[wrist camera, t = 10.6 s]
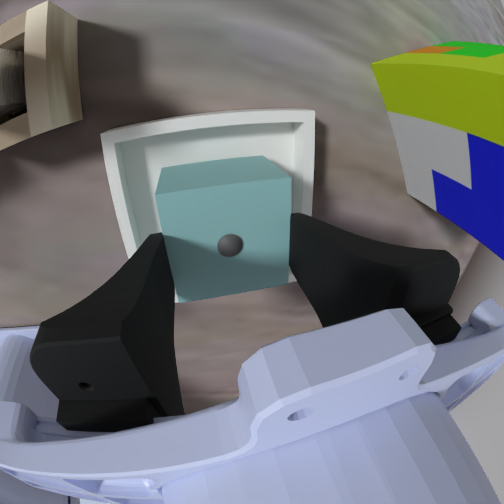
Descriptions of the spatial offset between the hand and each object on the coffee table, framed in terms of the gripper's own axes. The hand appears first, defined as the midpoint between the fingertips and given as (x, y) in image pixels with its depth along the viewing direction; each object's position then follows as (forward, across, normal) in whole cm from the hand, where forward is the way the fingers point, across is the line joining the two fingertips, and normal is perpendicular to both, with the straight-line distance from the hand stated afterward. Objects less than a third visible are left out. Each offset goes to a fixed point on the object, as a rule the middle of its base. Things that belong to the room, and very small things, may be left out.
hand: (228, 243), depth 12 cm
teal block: (+3, 0, 0) cm, 3 cm away
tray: (+5, 0, 0) cm, 5 cm away
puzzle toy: (+5, -16, -6) cm, 18 cm away
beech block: (+5, +10, -9) cm, 14 cm away
